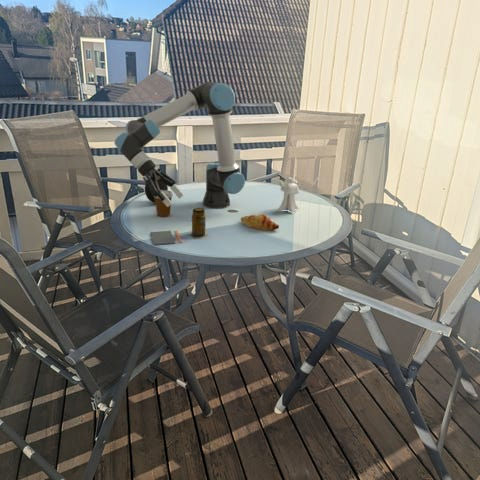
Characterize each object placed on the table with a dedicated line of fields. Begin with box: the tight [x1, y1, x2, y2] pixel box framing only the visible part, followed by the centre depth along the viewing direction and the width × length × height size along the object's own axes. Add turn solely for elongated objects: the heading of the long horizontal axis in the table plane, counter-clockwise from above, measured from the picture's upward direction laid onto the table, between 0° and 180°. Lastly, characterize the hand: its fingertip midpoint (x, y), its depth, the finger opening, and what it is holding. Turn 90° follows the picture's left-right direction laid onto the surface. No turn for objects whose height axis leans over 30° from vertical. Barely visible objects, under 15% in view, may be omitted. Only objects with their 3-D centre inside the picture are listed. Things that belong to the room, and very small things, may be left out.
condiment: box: [188, 207, 210, 239], centre depth 185 cm, size 7×8×12 cm
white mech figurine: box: [277, 177, 300, 213], centre depth 221 cm, size 12×13×18 cm
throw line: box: [174, 230, 183, 244], centre depth 183 cm, size 1×14×1 cm, turn 18°
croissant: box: [240, 213, 280, 231], centre depth 199 cm, size 21×10×8 cm, turn 59°
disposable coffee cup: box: [154, 189, 174, 218], centre depth 208 cm, size 10×10×12 cm
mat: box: [150, 230, 176, 246], centre depth 181 cm, size 9×14×1 cm, turn 17°
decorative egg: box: [144, 181, 169, 204], centre depth 225 cm, size 12×12×15 cm
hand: (176, 201), depth 184 cm, fingers open, 13 cm apart
